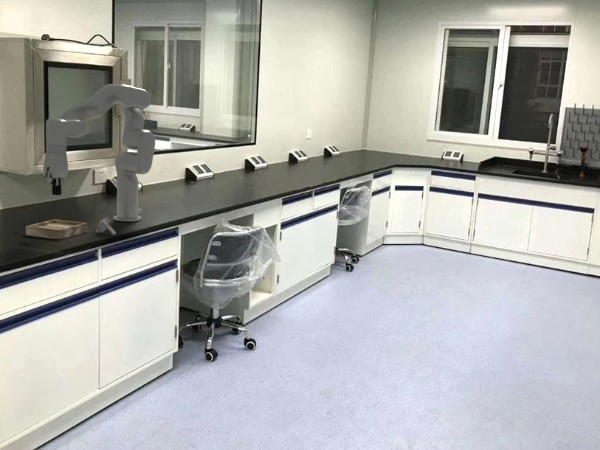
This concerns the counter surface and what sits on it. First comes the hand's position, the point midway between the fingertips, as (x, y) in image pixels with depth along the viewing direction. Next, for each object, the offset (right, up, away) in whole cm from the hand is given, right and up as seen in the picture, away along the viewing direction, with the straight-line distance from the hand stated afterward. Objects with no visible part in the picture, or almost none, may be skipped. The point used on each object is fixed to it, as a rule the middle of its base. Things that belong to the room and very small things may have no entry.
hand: (56, 194), depth 245 cm
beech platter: (-1, -16, +3) cm, 16 cm away
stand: (+17, -18, +8) cm, 26 cm away
